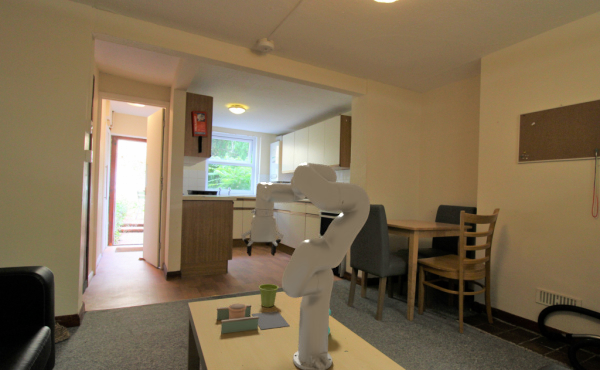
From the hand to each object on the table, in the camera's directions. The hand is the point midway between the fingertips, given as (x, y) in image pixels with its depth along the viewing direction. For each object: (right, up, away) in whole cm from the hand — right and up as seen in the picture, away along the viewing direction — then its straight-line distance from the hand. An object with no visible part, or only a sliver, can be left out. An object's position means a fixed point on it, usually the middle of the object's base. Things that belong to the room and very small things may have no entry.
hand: (261, 255), depth 126 cm
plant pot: (0, -29, +23) cm, 37 cm away
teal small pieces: (+22, -29, -5) cm, 37 cm away
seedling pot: (-10, -28, 0) cm, 30 cm away
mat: (+3, -29, +5) cm, 29 cm away
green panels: (-10, -28, 0) cm, 30 cm away
